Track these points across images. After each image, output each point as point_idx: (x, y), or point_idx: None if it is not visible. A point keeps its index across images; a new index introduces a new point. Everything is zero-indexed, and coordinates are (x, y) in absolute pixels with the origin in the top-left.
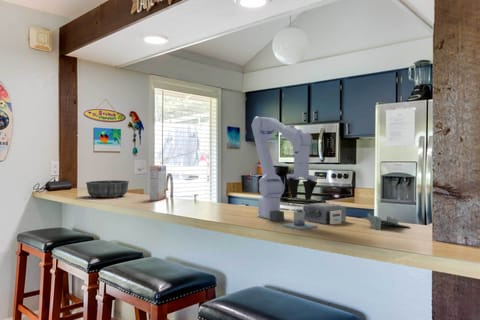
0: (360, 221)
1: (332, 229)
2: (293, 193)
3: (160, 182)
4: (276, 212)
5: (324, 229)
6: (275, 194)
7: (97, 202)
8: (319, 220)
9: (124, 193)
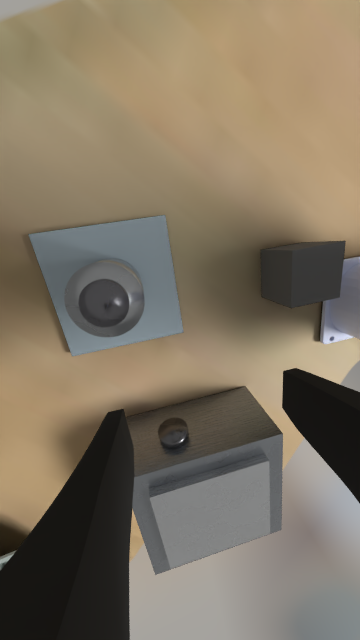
0: (132, 536)
1: (4, 385)
2: (313, 403)
3: None
4: (292, 251)
5: (13, 354)
6: None
7: None
8: (161, 416)
9: None
